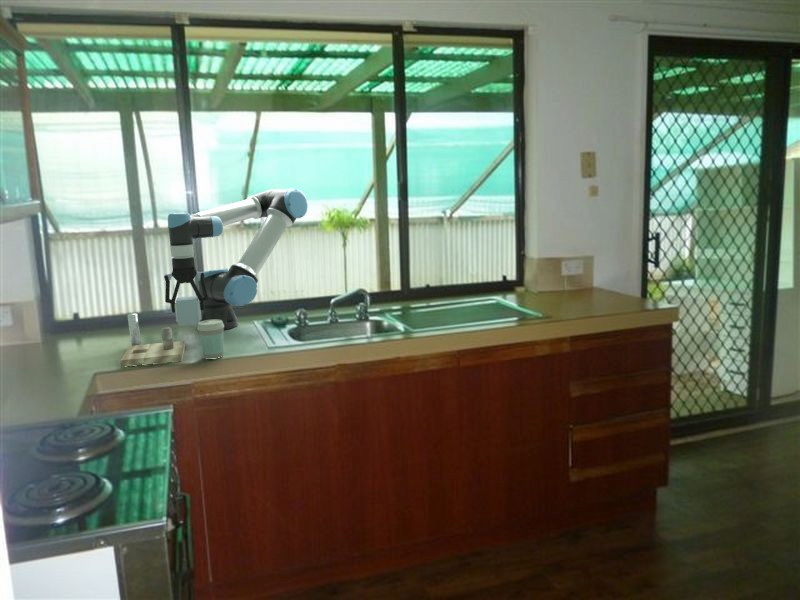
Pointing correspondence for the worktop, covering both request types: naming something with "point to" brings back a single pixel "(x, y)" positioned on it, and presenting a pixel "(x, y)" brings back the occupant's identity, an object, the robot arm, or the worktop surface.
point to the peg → (134, 329)
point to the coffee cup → (211, 337)
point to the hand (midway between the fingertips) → (189, 320)
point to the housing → (187, 310)
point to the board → (155, 351)
